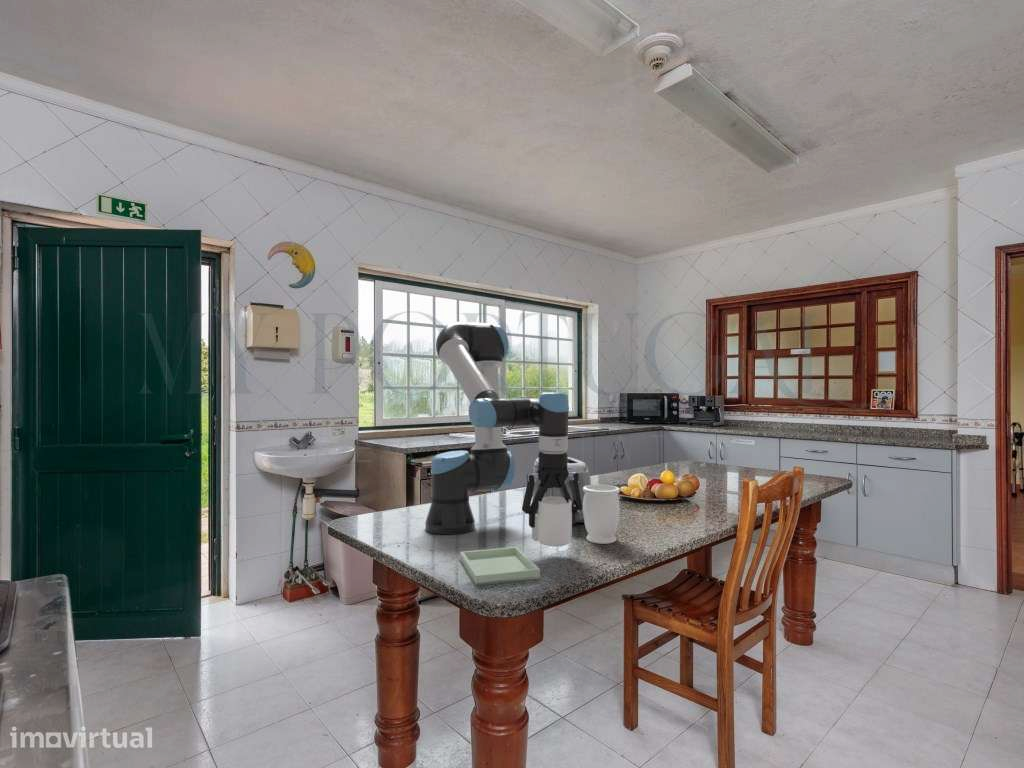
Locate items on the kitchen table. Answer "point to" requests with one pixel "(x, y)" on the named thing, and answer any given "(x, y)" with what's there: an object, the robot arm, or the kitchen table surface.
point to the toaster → (568, 483)
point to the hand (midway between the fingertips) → (551, 538)
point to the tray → (498, 566)
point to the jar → (601, 512)
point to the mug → (554, 521)
